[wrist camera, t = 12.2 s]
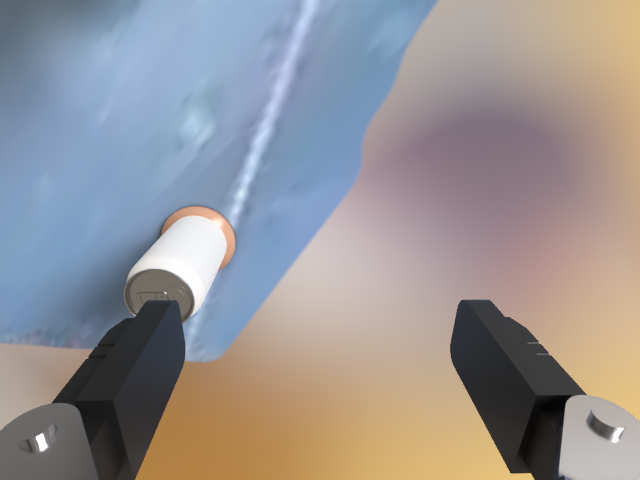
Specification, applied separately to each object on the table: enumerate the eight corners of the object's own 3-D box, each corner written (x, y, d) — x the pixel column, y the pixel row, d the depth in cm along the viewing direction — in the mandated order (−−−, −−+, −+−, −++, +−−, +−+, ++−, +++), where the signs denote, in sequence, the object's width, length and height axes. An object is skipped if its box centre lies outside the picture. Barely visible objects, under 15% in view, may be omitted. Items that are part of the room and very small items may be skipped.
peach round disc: (158, 205, 40) (155, 207, 39) (233, 205, 40) (231, 207, 40) (169, 270, 43) (166, 274, 42) (238, 270, 43) (237, 274, 43)
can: (233, 263, 42) (208, 327, 31) (177, 271, 42) (132, 337, 31) (220, 210, 40) (187, 259, 28) (160, 218, 40) (105, 270, 29)
